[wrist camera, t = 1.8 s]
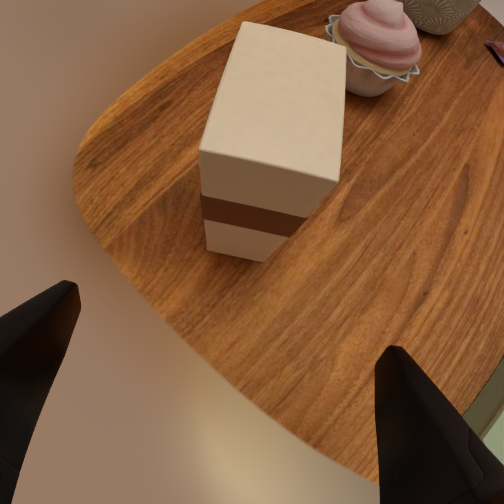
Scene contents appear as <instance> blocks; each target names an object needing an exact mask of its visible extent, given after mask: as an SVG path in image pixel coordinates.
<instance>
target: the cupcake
mask: <svg viewBox="0 0 504 504" xmlns="http://www.w3.org/2000/svg"><path fill="white" fill-rule="evenodd" d="M329 23H330V24H329V25H327V26H326V35H327V41H329V42H332V43H336V44H339V45H342V46H345V47H346V85H345V89H346V90H347V91H349V92H351V93H353V94H356V95H359V96H364V97H373V96H378V95H380V94H383V93H384V92H385V91H387V90H388V89H390V88H391V87H392V86H393V85H396V84H400V83H405V82H408V81H409V77H411V76H414V75H418V74H420V72H419V69H418V67H417V65H416V64H417V63H418V61H419V59H420V57H421V45H420V42H419V39H418V36H417V30H416V28H415V26H414V24H413V23H412V21H411V20H410V19H409V18H408V16H407V15H406V14H405V13H404V12H403V3H401V2H397V1H394V0H368V1H367V2H358V3H354V4H352V5H350V6H348V7H347V8H346V9H345V10H344V11H343V12H342V14H341V15H331V16H329Z"/></svg>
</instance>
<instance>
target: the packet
mask: <svg viewBox="0 0 504 504" xmlns="http://www.w3.org/2000/svg"><path fill="white" fill-rule="evenodd" d="M345 85H346V47H345V46H342V45H339V44H336V43H332V42H329V41H326V40H322V39H319V38H316V37H312V36H308V35H305V34H301V33H297V32H293V31H289V30H285V29H280V28H276V27H271V26H266V25H262V24H256V23H251V22H245V21H244V22H242V24H241V27H240V30H239V32H238V35H237V37H236V40H235V43H234V45H233V48H232V50H231V53H230V56H229V59H228V61H227V64H226V67H225V70H224V72H223V75H222V78H221V81H220V84H219V87H218V90H217V93H216V96H215V99H214V102H213V105H212V108H211V111H210V114H209V117H208V120H207V123H206V126H205V129H204V132H203V136H202V139H201V142H200V145H199V162H200V176H201V188H202V190H201V194H200V198H201V208H202V217H203V219H204V223H205V234H206V244H207V250H208V251H212V252H216V253H221V254H226V255H231V256H235V257H240V258H245V259H250V260H254V261H259V262H265V261H266V260H267V259H268V258H269V257H270V255H271V254H272V253H273V252H274V251H275V250H276V249H277V248H278V247H279V246H280V245H281V244H282V243H283V242H284V240H285V239H286V238H287V237H288V238H289V237H290V236H291V235H292V234H293V233H294V232H295V231H296V230H297V229H298V228H299V227H300V226H301V225H302V224H303V223H304V222H305V221H306V220H307V217H308V215H309V214H310V212H311V211H312V210H313V209H314V208H315V207H316V206H317V205H318V204H319V203H320V202H321V201H322V199H323V198H324V197H325V196H326V195H327V194H328V193H329V192H330V191H331V190H332V189H333V187H334V186H335V185H336V184H337V183H338V182H339V174H340V163H341V151H342V138H343V124H344V106H345Z"/></svg>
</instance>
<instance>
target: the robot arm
mask: <svg viewBox="0 0 504 504" xmlns="http://www.w3.org/2000/svg"><path fill="white" fill-rule="evenodd" d="M80 310H81V301H80V295H79V289H78V285H77V284H76V283H74V282H71V281H67V280H63V281H61V282H59V283H58V284H56V285H54V286H52V287H50V288H49V289H47V290H45V291H43V292H42V293H40V294H38V295H36V296H35V297H33V298H31V299H30V300H28V301H26V302H24V303H23V304H21V305H19V306H18V307H16V308H15V309H13V310H11V311H9V312H8V313H6V314H5V315H3V316H1V317H0V504H11V502H12V499H13V495H14V491H15V488H16V484H17V481H18V477H19V474H20V473H19V472H20V470H21V467H22V464H23V461H24V458H25V455H26V452H27V449H28V446H29V443H30V440H31V437H32V434H33V432H34V429H35V426H36V423H37V421H38V418H39V415H40V413H41V410H42V408H43V406H44V403H45V401H46V398H47V396H48V393H49V391H50V388H51V386H52V384H53V381H54V379H55V377H56V374H57V372H58V370H59V368H60V365H61V363H62V361H63V358H64V356H65V353H66V351H67V348H68V345H69V342H70V339H71V336H72V333H73V330H74V327H75V324H76V322H77V319H78V317H79V313H80ZM375 422H376V434H377V447H378V463H379V486H380V504H504V465H503V464H502V463H501V462H500V461H499V460H498V459H497V457H496V456H495V455H494V454H493V453H492V452H491V451H490V450H489V449H488V448H487V447H486V445H485V444H484V443H483V442H482V441H481V439H480V438H479V437H478V436H477V435H476V433H475V432H474V431H473V430H472V428H471V427H469V425H468V424H467V422H466V421H465V420H464V419H463V417H462V416H461V415H460V414H459V413H458V411H457V410H456V409H455V408H454V407H453V405H452V404H451V403H450V402H449V401H448V399H447V398H446V397H445V396H444V395H443V393H442V392H441V391H440V390H439V389H438V388H437V386H436V385H435V384H434V383H433V382H432V380H431V379H430V378H429V377H428V376H427V375H426V373H425V372H424V371H423V370H422V369H421V368H420V367H419V365H418V364H417V363H416V362H415V361H414V360H413V359H412V357H411V356H410V355H409V354H408V353H407V352H406V351H405V349H404V348H403V347H401V346H394V345H390V346H388V347H387V348H386V350H385V351H384V352H383V354H382V355H381V356H380V358H379V359H378V360H377V362H376V364H375Z"/></svg>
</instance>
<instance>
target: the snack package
mask: <svg viewBox="0 0 504 504" xmlns="http://www.w3.org/2000/svg"><path fill="white" fill-rule="evenodd" d="M487 42H488V43H489V44H490V46H491V48H492V49H493V50H494V52H495V53H496V54H497V56H498V57H499V58H500V60H501V61H502V62H503V64H504V43H501V42H495V41H487Z"/></svg>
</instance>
